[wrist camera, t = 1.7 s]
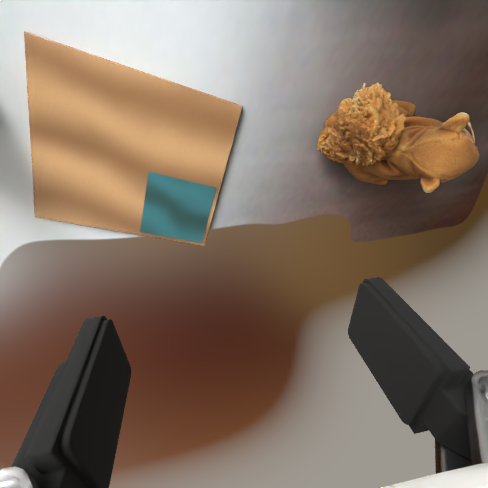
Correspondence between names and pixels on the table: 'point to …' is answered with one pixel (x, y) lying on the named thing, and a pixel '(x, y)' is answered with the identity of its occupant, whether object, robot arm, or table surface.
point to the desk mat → (123, 145)
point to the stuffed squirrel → (396, 141)
